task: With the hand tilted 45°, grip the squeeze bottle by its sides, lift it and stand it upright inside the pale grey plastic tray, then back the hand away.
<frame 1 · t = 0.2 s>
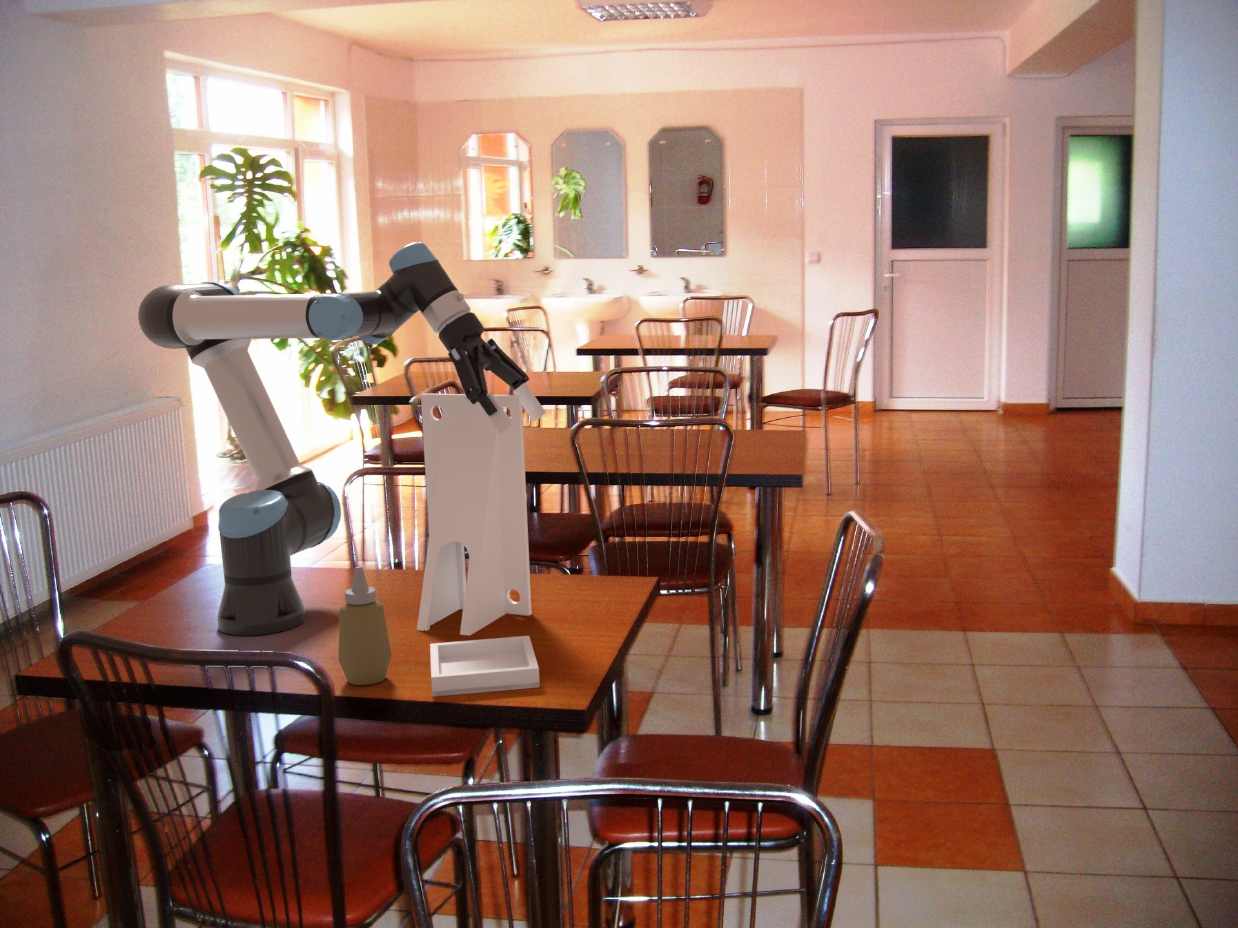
hand: (524, 423, 207), 36 cm above the table, tool tilted 35°, fingers open, 13 cm apart
white bracket: (463, 621, 215), on the table
squeeze bottle: (366, 680, 186), on the table
tray: (483, 673, 187), on the table
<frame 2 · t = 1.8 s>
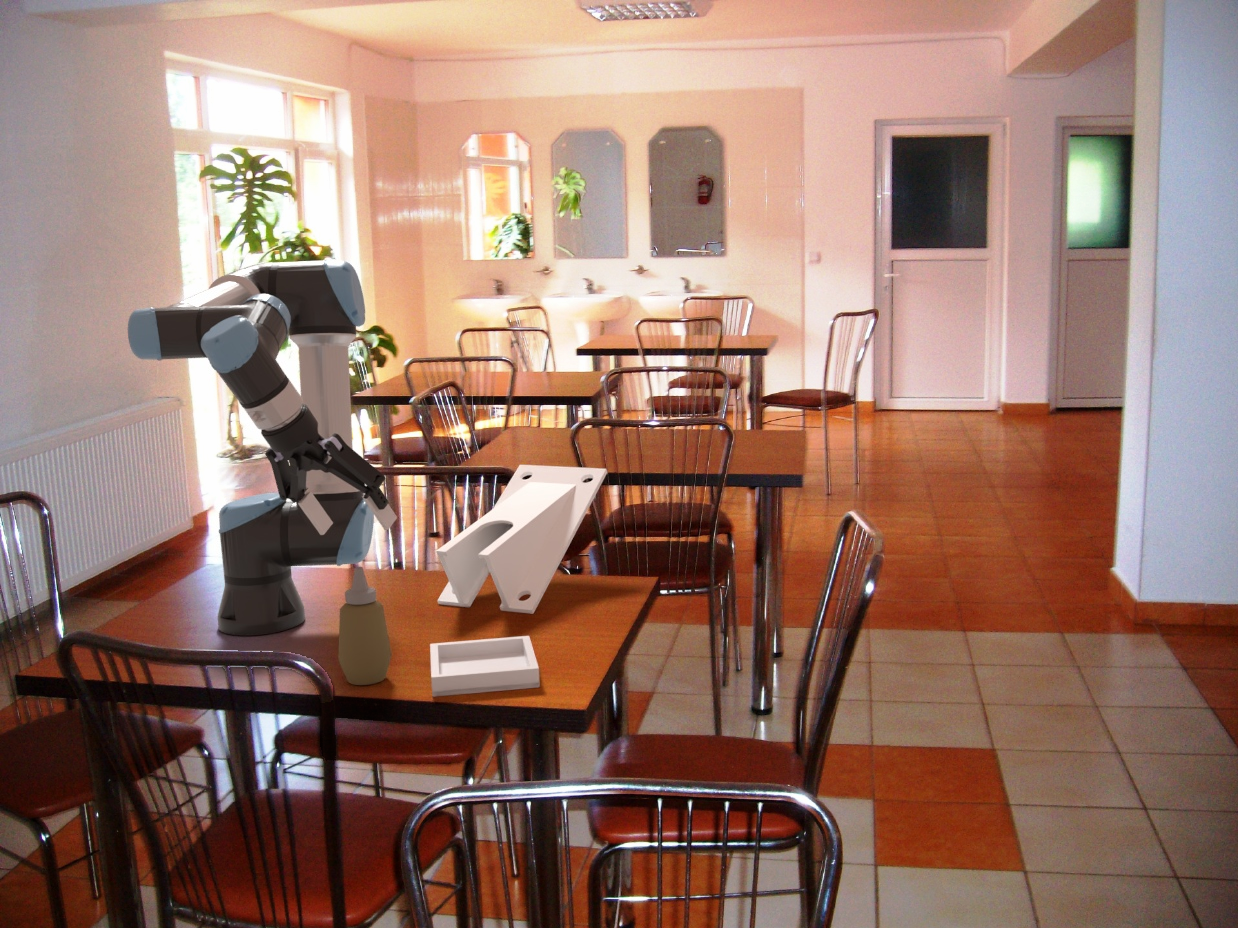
hand: (358, 526, 182), 24 cm above the table, tool tilted 30°, fingers open, 13 cm apart
white bracket: (473, 582, 218), point 6 cm above the table
everything else where it was.
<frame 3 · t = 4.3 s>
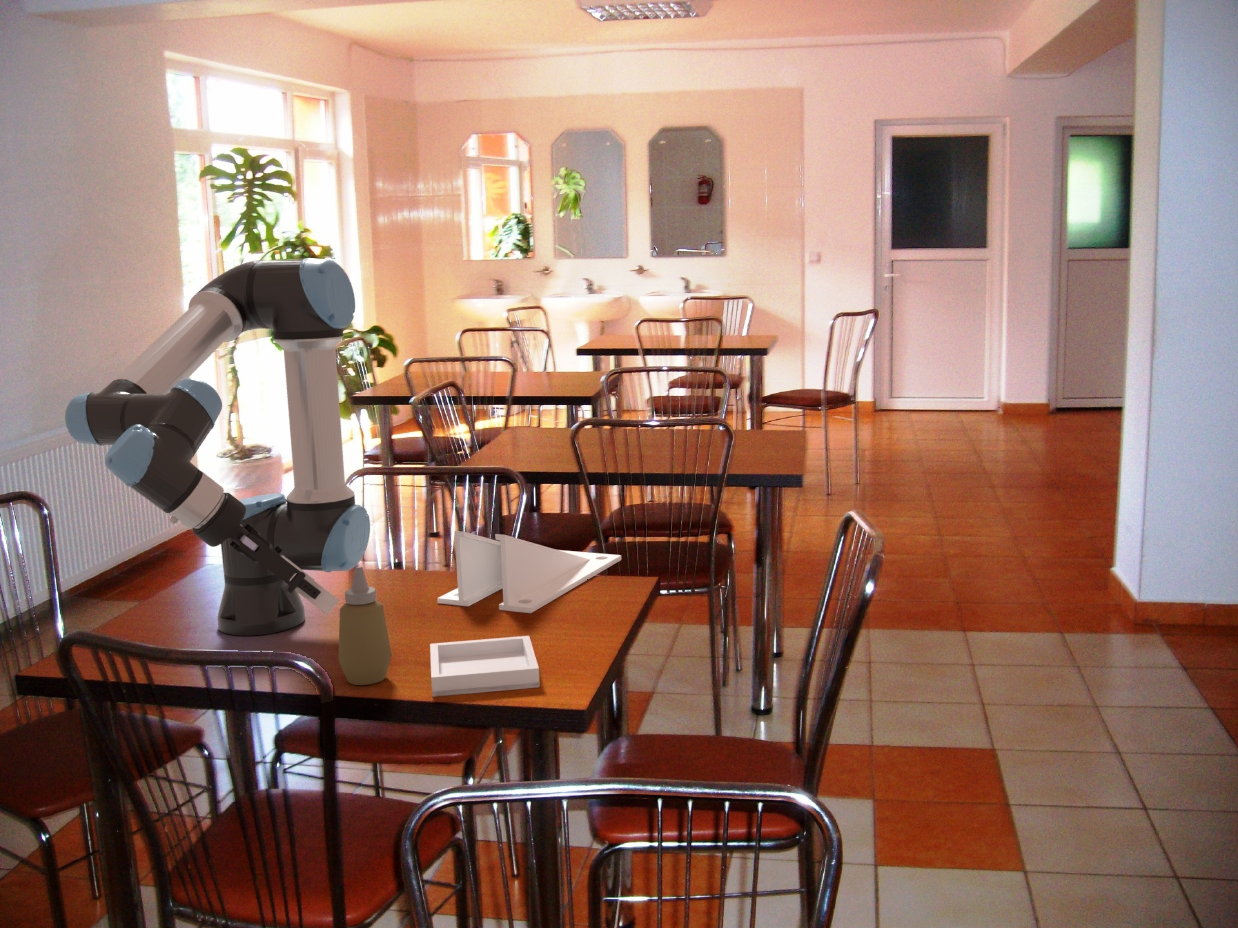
hand: (320, 596, 180), 15 cm above the table, tool tilted 45°, fingers open, 13 cm apart
white bracket: (480, 570, 221), point 7 cm above the table
everything else where it was.
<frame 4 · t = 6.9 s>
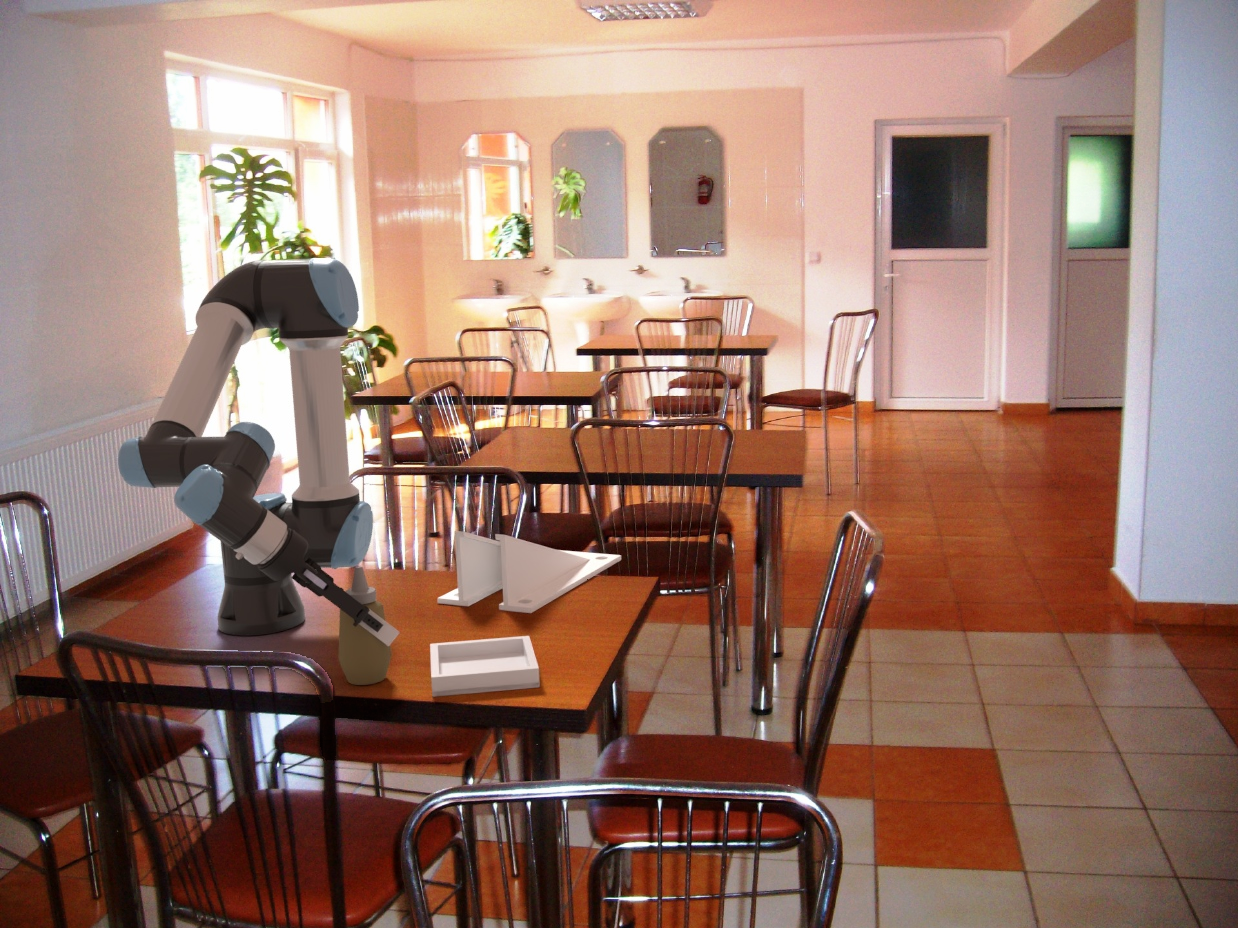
hand: (385, 632, 187), 7 cm above the table, tool tilted 45°, fingers closed on squeeze bottle, 6 cm apart
squeeze bottle: (366, 680, 186), on the table, touching gripper
everything else where it was.
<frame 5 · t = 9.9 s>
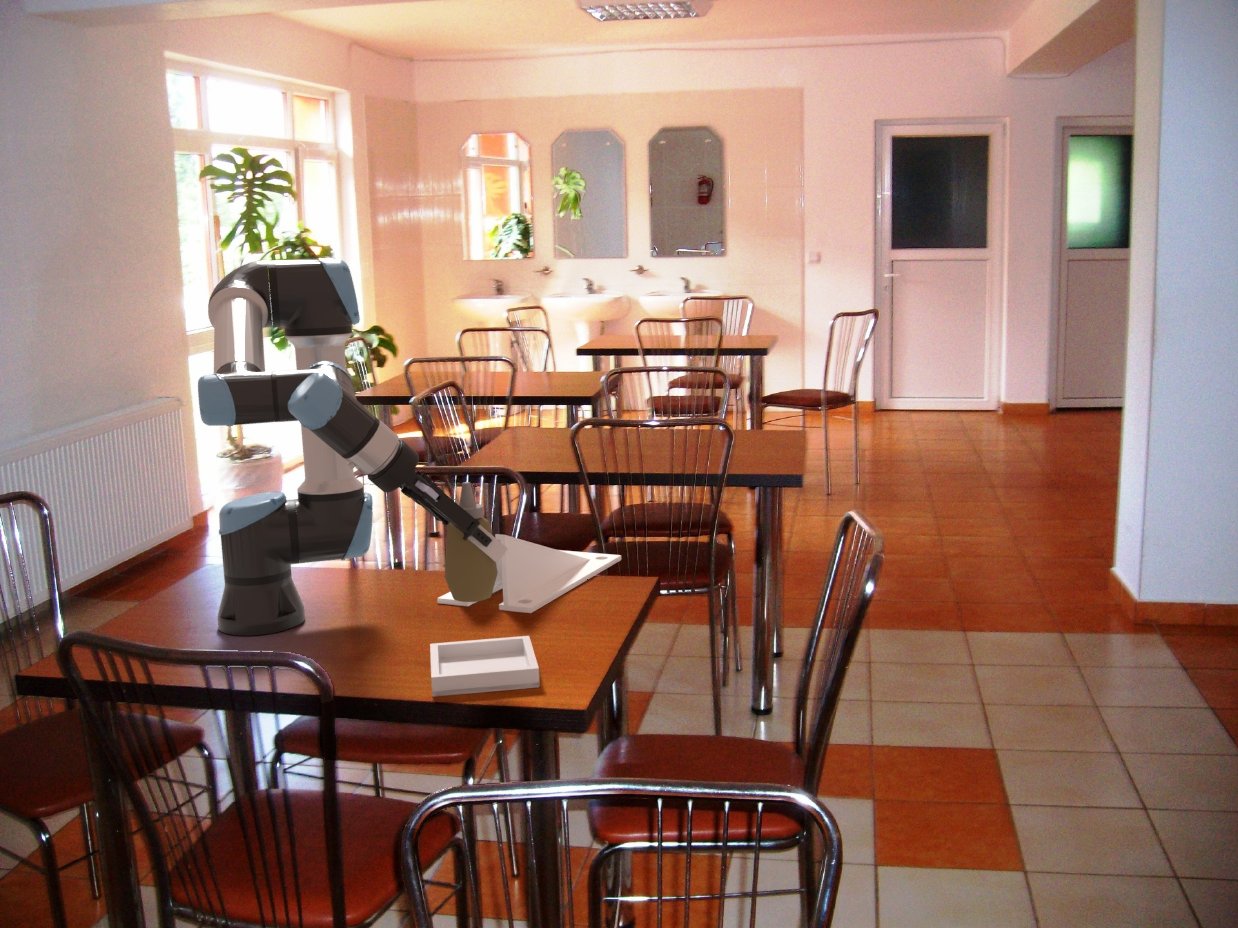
hand: (492, 550, 185), 20 cm above the table, tool tilted 45°, fingers closed on squeeze bottle, 6 cm apart
squeeze bottle: (472, 599, 184), point 12 cm above the table, touching gripper
everything else where it was.
when the fingers open (9 cm above the table, at t = 12.8 s): squeeze bottle drops 1 cm, resting on tray.
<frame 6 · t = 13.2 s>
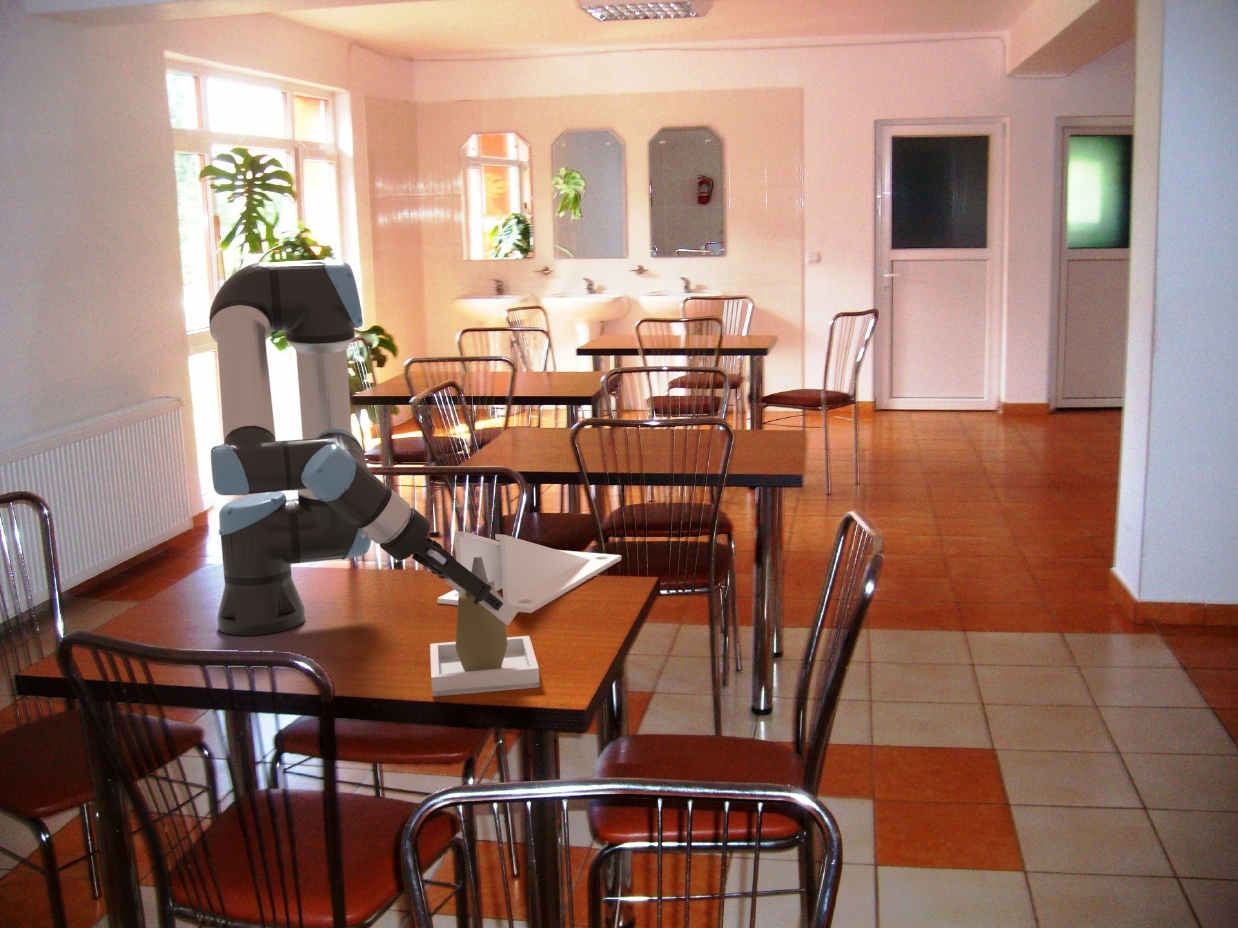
hand: (495, 607, 187), 10 cm above the table, tool tilted 45°, fingers open, 12 cm apart
squeeze bottle: (482, 670, 187), point 1 cm above the table, touching tray
everything else where it was.
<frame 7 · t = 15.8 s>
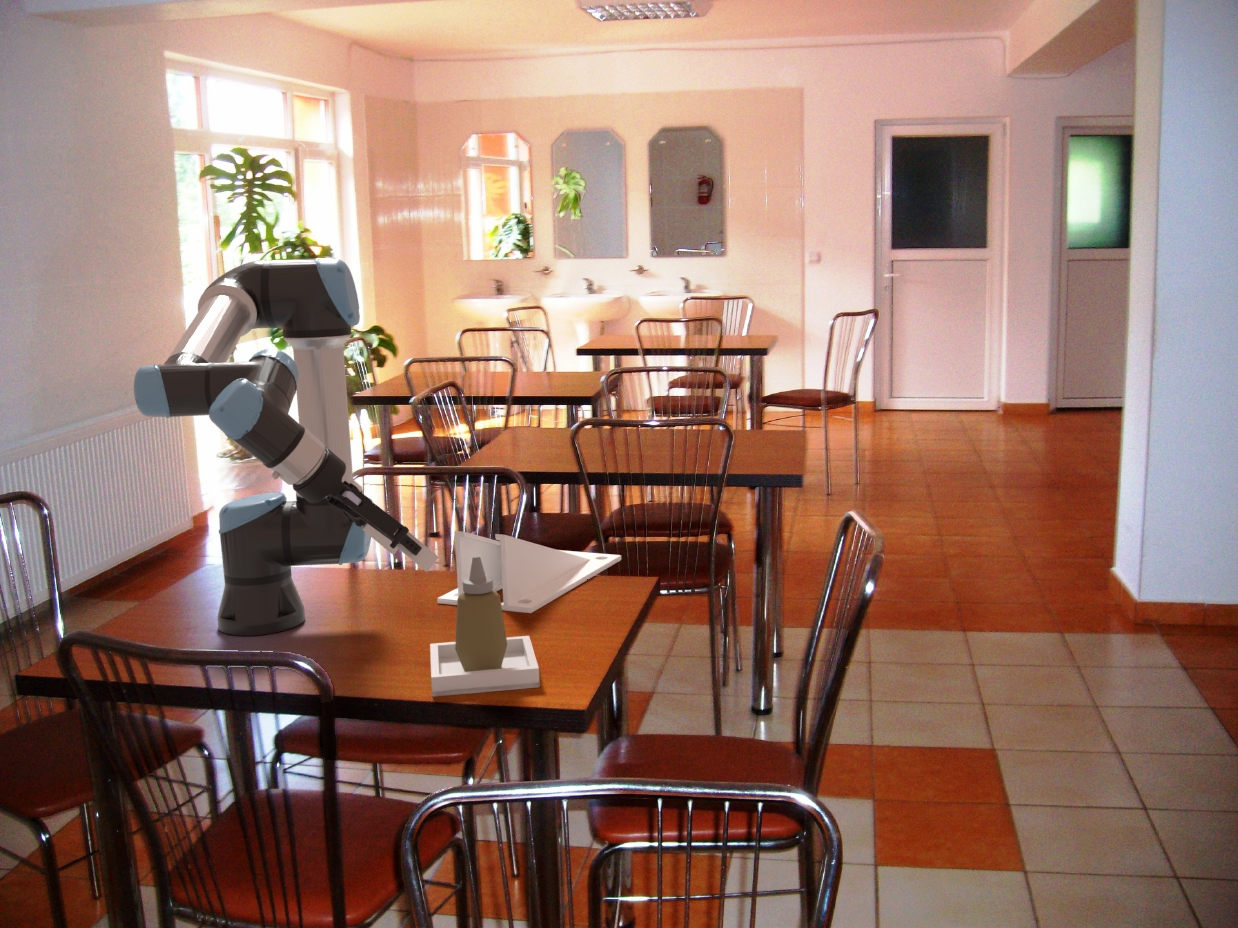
hand: (414, 555, 179), 20 cm above the table, tool tilted 45°, fingers open, 13 cm apart
nothing on the table moved.
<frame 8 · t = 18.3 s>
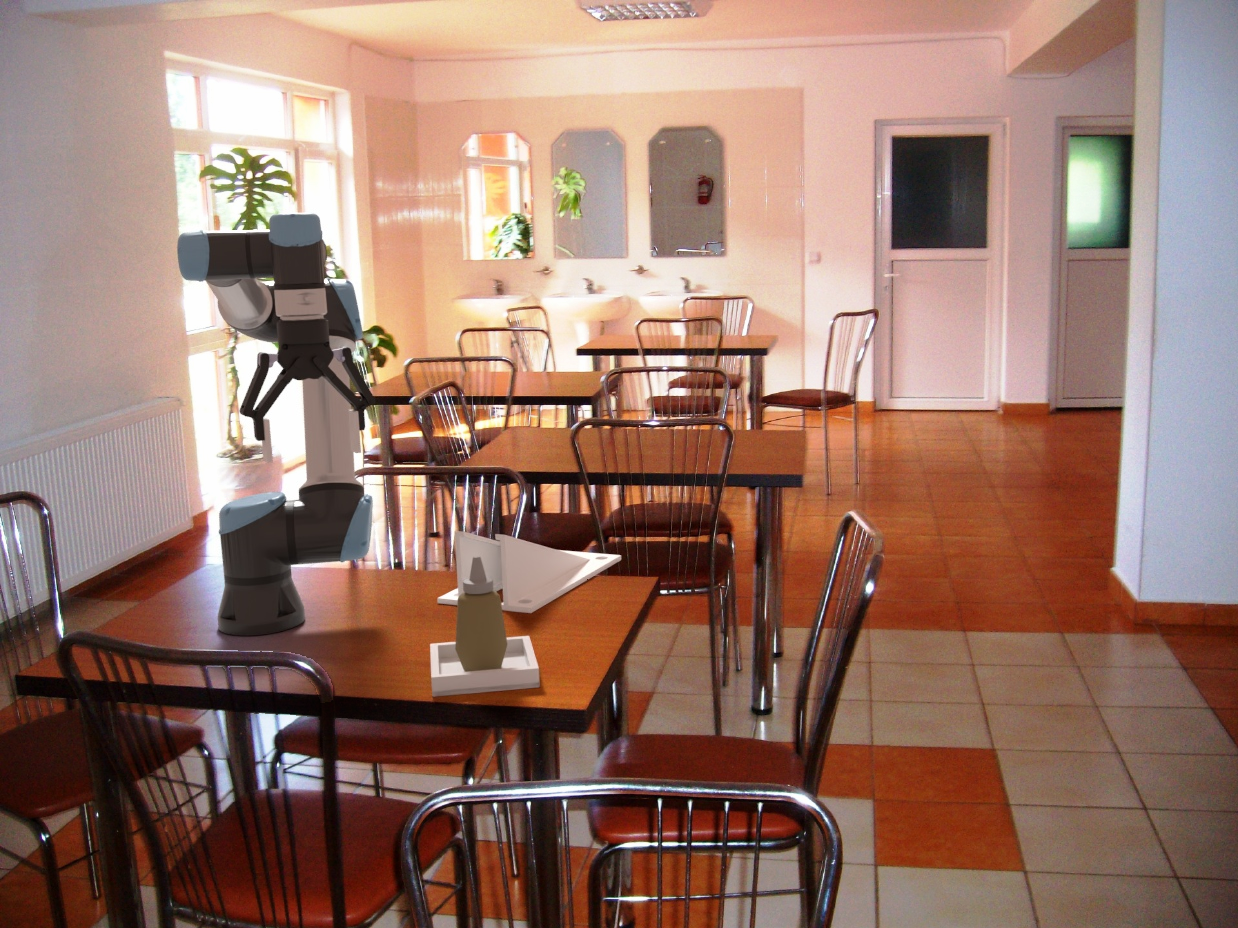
hand: (312, 456, 184), 35 cm above the table, tool pointing down, fingers open, 13 cm apart
nothing on the table moved.
at the end: squeeze bottle inside the target area on the tray (0.1 cm from its centre), point 0.6 cm above the tray's base; squeeze bottle tilted 0°; the gripper is holding nothing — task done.
